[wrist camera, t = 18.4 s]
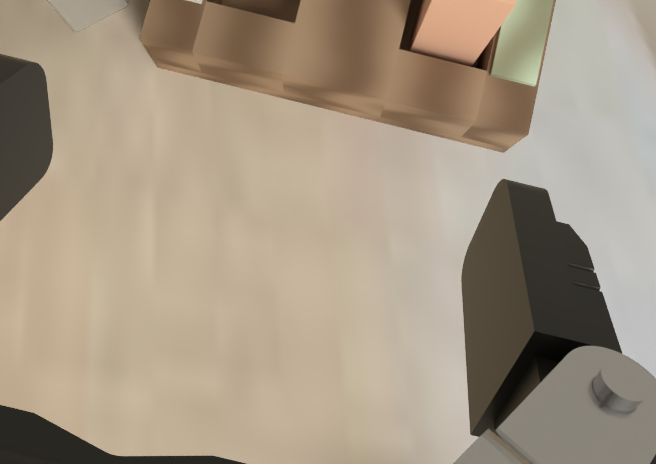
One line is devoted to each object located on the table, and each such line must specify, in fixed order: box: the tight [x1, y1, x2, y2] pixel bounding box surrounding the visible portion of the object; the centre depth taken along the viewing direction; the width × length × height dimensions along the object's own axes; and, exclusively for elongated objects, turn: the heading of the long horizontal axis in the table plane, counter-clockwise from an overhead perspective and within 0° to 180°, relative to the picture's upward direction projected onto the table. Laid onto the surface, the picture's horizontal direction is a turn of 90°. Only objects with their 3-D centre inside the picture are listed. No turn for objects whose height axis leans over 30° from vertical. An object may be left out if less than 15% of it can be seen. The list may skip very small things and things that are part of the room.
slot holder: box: [139, 0, 556, 153], centre depth 39 cm, size 24×12×5 cm, turn 76°
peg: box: [408, 0, 517, 67], centre depth 35 cm, size 4×4×10 cm
